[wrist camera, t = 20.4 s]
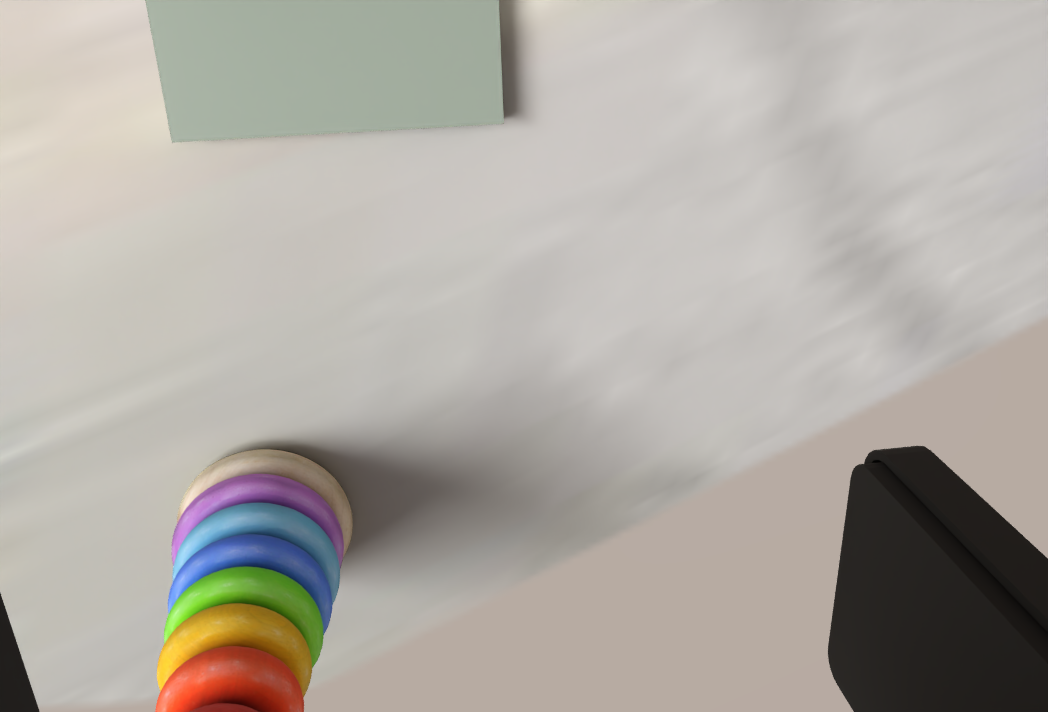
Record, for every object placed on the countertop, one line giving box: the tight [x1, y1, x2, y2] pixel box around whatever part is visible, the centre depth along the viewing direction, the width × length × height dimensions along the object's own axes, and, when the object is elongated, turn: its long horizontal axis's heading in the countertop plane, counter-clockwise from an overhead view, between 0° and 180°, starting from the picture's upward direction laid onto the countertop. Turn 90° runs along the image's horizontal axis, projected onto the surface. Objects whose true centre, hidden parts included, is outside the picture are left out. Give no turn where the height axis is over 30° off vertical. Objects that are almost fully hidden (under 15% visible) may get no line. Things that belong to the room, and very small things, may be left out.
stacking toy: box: [155, 449, 353, 712], centre depth 36 cm, size 8×8×19 cm
